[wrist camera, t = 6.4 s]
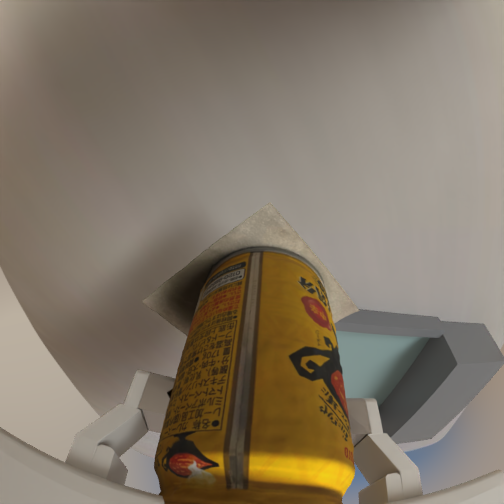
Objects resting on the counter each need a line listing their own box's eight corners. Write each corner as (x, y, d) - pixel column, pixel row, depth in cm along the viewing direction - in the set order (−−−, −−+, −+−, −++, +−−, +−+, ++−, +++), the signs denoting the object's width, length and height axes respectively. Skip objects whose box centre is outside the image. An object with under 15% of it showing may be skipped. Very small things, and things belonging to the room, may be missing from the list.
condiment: (358, 307, 15) (406, 551, 4) (235, 370, 18) (211, 559, 8) (270, 199, 12) (246, 586, 2) (143, 297, 15) (52, 515, 5)
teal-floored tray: (309, 303, 26) (316, 356, 20) (485, 320, 26) (508, 357, 21) (271, 405, 34) (270, 447, 29) (419, 406, 35) (429, 440, 29)
